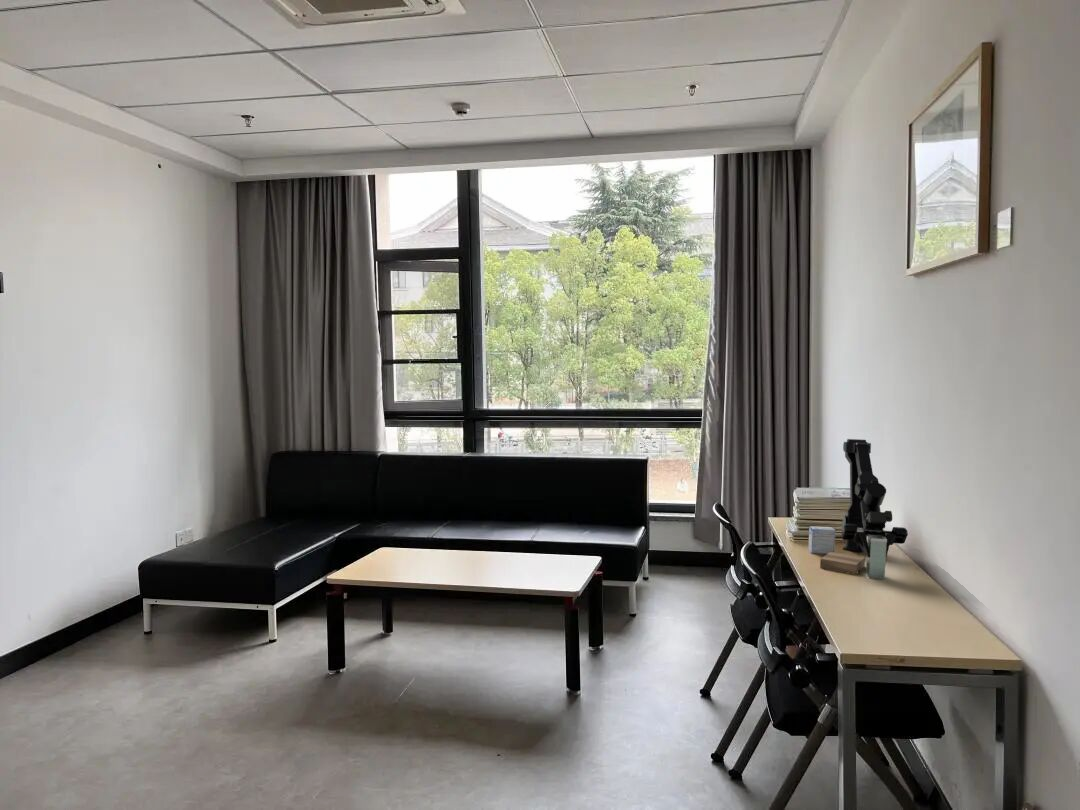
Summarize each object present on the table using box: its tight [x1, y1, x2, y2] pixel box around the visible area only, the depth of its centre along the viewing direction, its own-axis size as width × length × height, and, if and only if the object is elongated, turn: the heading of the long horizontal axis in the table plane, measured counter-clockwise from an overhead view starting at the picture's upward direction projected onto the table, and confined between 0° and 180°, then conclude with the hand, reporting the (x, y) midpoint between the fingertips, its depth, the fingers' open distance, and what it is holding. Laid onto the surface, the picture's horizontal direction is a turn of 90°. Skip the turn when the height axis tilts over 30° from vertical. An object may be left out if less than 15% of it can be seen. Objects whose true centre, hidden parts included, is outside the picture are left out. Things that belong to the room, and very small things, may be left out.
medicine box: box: [807, 525, 836, 555], centre depth 269 cm, size 8×4×9 cm, turn 84°
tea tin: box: [865, 535, 887, 580], centre depth 241 cm, size 5×5×13 cm
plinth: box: [819, 551, 866, 575], centre depth 251 cm, size 11×11×3 cm
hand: (877, 557), depth 240 cm, fingers closed on tea tin, 4 cm apart
